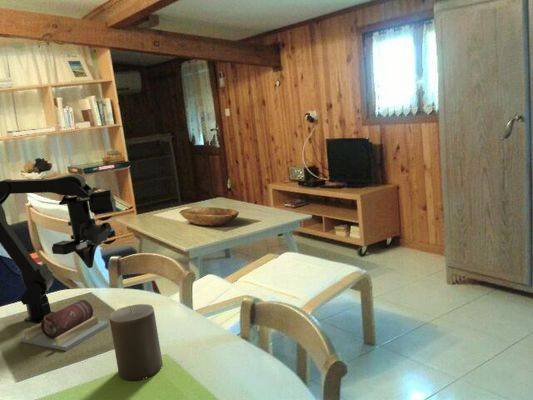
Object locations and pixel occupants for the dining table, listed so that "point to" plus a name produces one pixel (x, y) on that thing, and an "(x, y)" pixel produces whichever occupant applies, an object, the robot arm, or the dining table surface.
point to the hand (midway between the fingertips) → (90, 267)
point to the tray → (65, 335)
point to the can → (66, 318)
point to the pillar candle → (136, 341)
